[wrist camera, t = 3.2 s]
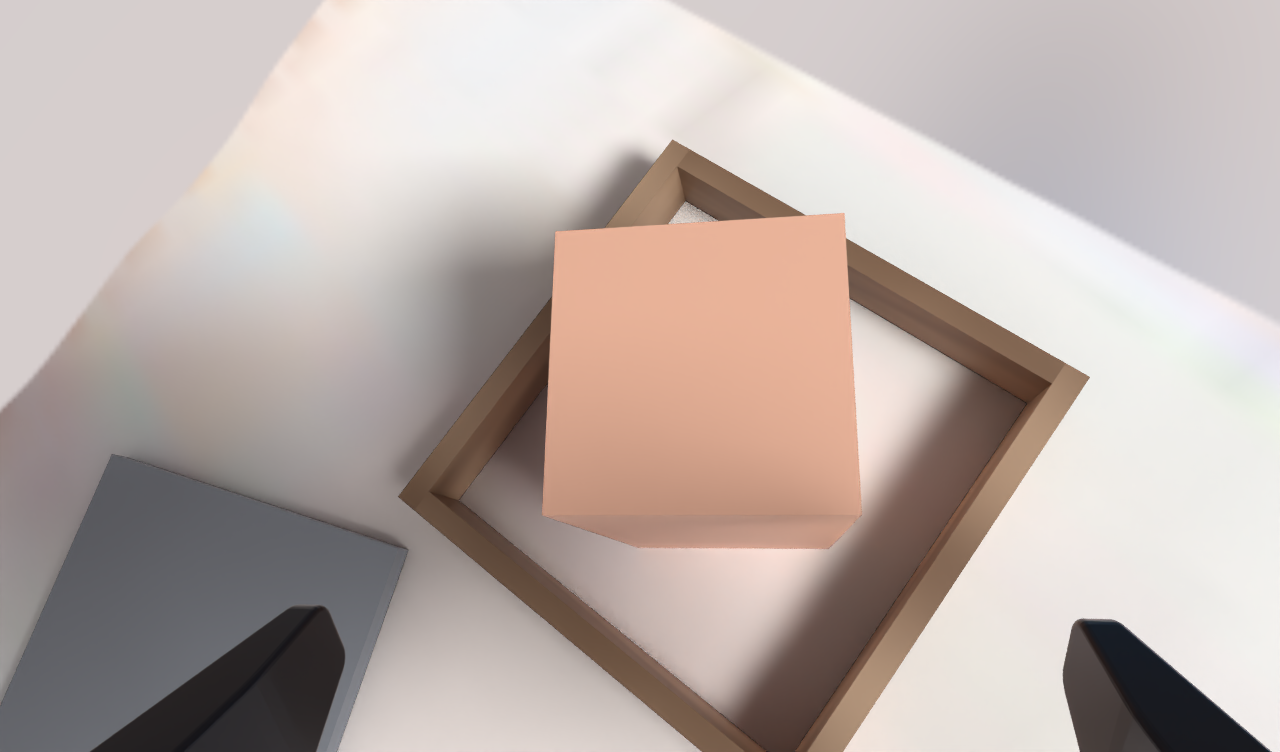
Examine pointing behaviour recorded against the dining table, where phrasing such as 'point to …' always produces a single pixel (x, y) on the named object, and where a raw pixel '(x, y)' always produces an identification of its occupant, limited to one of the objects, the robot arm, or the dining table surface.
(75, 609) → the slate pad
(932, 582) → the walnut well
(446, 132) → the dining table surface
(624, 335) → the terracotta block
